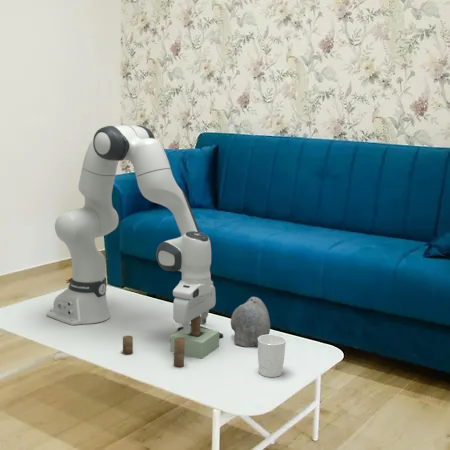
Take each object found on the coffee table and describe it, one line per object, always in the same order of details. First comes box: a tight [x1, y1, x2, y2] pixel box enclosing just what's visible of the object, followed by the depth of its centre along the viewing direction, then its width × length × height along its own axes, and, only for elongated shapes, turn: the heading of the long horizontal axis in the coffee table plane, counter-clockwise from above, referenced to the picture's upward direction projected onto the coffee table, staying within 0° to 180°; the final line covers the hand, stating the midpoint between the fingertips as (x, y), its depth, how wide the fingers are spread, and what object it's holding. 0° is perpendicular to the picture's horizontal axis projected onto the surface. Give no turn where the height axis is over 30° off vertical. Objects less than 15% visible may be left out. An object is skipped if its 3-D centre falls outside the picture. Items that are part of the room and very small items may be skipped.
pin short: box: [122, 335, 134, 356], centre depth 189 cm, size 3×3×5 cm
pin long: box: [190, 315, 202, 337], centre depth 193 cm, size 3×3×12 cm
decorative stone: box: [230, 296, 271, 348], centre depth 199 cm, size 15×10×15 cm
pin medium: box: [173, 337, 185, 368], centre depth 181 cm, size 3×3×8 cm
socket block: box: [170, 325, 220, 359], centre depth 193 cm, size 11×11×5 cm
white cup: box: [257, 333, 287, 378], centre depth 177 cm, size 8×8×10 cm
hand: (195, 328), depth 193 cm, fingers open, 8 cm apart
